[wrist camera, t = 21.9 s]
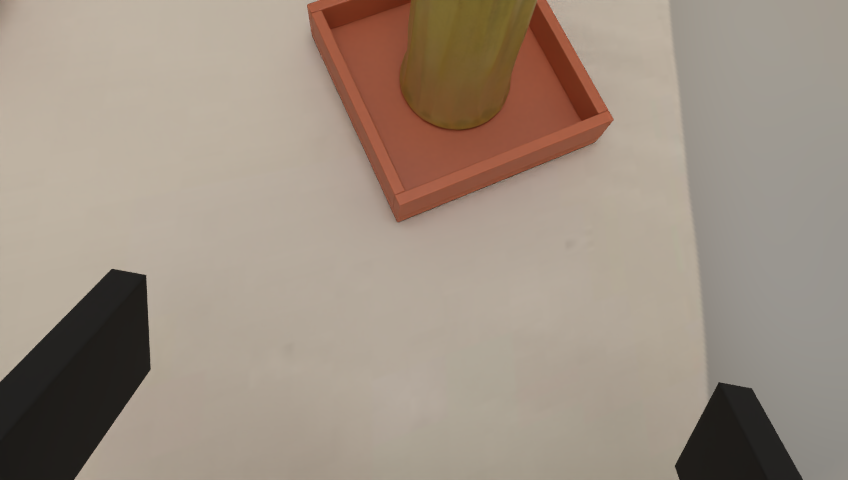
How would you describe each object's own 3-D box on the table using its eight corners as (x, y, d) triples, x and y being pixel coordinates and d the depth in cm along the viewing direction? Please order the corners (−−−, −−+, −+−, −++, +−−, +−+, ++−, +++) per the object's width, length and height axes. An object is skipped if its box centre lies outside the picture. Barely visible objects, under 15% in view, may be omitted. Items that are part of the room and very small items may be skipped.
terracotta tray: (595, 142, 35) (614, 119, 33) (397, 222, 33) (399, 205, 31) (501, -30, 38) (510, -64, 35) (311, 34, 36) (306, 3, 33)
